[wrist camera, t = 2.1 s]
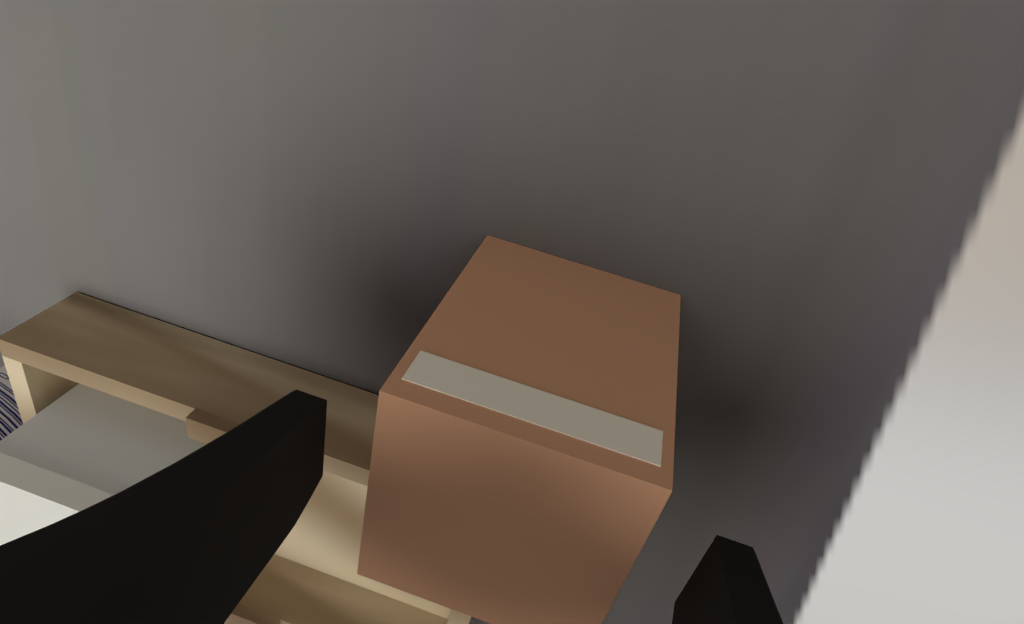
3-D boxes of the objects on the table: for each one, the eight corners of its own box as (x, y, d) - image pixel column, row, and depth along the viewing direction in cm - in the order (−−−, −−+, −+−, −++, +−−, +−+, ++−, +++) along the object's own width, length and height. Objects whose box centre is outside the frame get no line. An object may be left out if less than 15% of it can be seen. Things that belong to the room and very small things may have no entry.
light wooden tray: (470, 621, 22) (442, 707, 20) (118, 489, 24) (50, 554, 21) (526, 444, 17) (497, 528, 15) (76, 290, 19) (-18, 345, 16)
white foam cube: (256, 524, 22) (164, 648, 18) (122, 475, 22) (6, 585, 18) (253, 416, 19) (143, 536, 15) (100, 362, 19) (-43, 465, 16)
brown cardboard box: (616, 443, 17) (583, 658, 12) (455, 389, 17) (357, 574, 12) (681, 293, 14) (672, 490, 9) (488, 233, 15) (379, 389, 10)
